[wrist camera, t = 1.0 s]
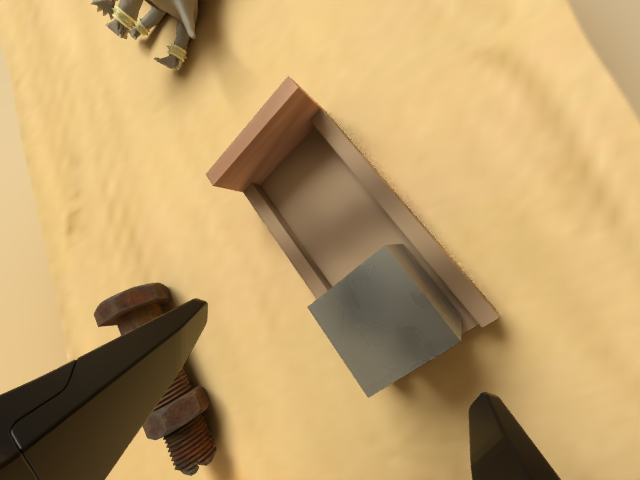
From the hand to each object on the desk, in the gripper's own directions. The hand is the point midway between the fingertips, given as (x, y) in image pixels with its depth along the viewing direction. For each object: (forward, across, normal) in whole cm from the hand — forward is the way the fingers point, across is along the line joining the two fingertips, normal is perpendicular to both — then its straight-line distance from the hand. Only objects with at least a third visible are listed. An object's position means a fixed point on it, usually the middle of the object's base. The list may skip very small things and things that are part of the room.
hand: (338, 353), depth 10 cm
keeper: (+8, -3, +4) cm, 10 cm away
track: (+12, 0, +2) cm, 12 cm away
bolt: (+9, +11, +19) cm, 24 cm away
